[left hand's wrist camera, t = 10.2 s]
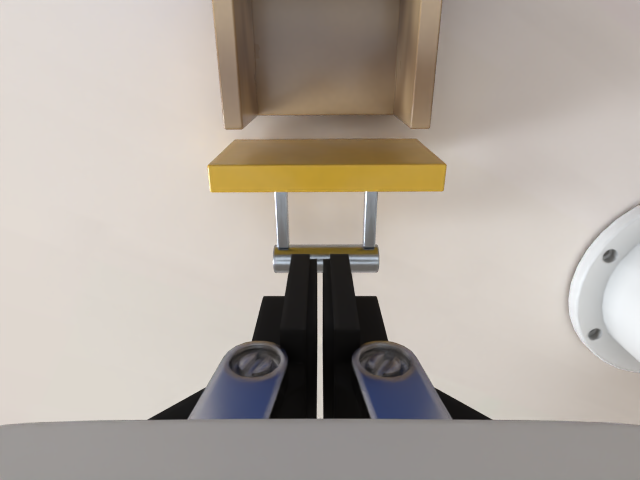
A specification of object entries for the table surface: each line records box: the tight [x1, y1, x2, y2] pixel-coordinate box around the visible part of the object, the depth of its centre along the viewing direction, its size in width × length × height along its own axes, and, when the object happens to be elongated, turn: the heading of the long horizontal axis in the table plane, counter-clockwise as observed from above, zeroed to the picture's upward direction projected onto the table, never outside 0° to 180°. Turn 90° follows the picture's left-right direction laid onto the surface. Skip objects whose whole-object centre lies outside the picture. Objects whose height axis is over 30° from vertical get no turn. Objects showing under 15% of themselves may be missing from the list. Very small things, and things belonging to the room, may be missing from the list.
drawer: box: [207, 0, 447, 273], centre depth 18 cm, size 24×10×6 cm, turn 0°
